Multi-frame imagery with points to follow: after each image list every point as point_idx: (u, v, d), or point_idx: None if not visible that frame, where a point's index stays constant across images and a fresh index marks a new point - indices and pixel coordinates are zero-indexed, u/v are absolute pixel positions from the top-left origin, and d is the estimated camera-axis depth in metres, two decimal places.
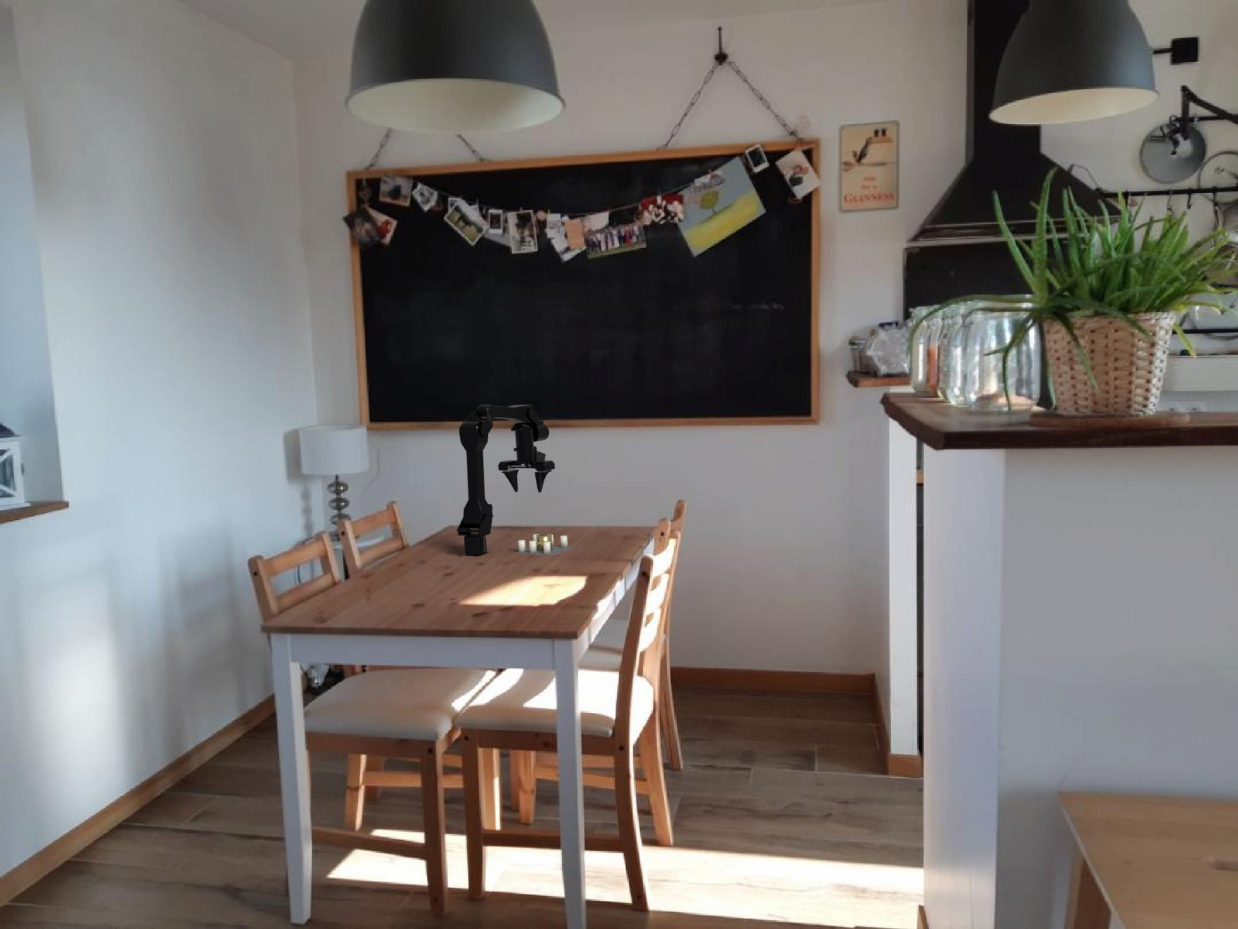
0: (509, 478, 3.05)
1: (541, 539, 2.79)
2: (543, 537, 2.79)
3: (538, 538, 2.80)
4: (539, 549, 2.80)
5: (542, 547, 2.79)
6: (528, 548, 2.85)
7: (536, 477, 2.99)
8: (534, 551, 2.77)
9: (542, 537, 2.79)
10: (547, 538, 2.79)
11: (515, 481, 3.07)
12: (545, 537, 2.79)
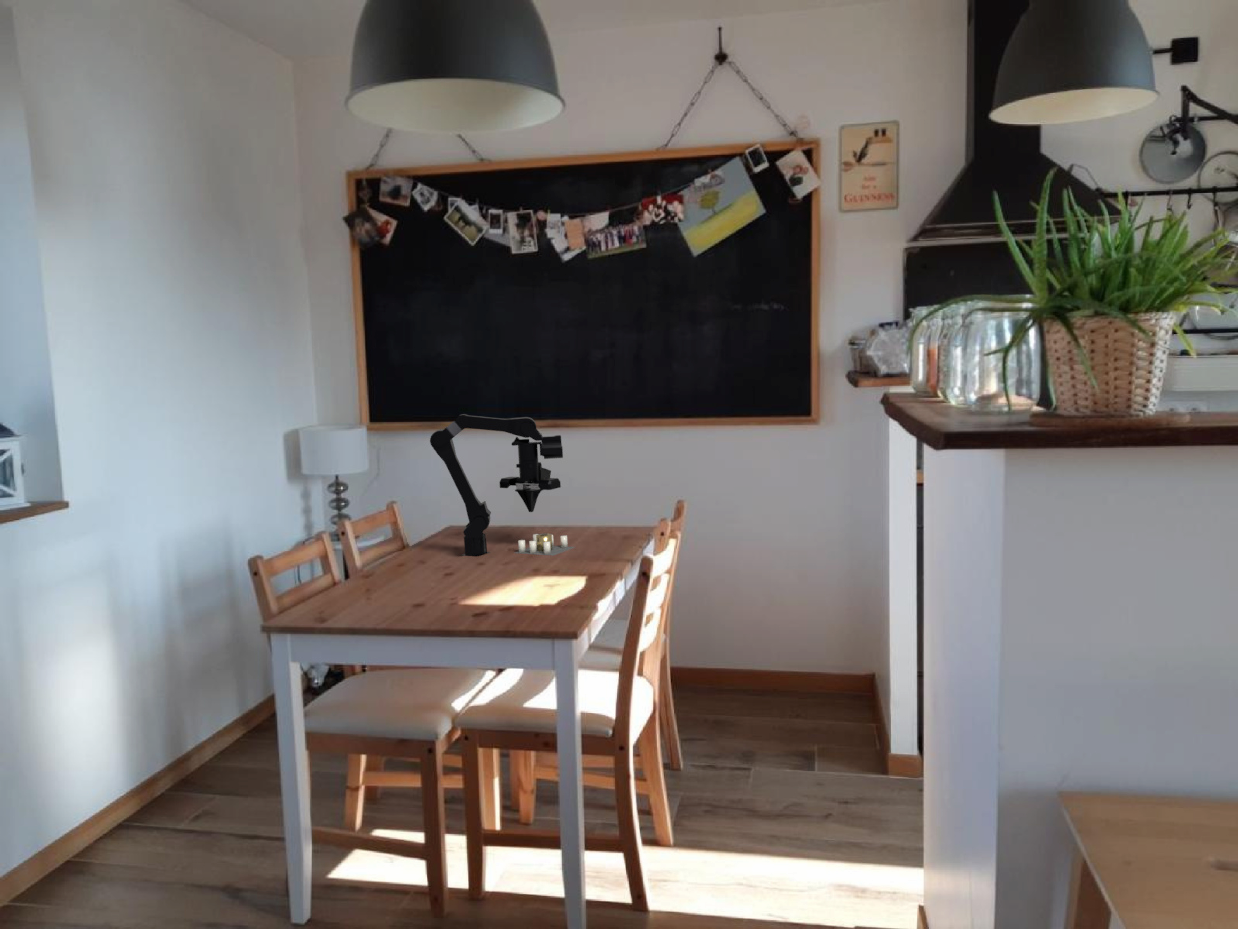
0: (523, 497, 2.80)
1: (541, 539, 2.79)
2: (543, 537, 2.79)
3: (538, 538, 2.80)
4: (539, 549, 2.80)
5: (542, 547, 2.79)
6: (528, 548, 2.85)
7: (528, 495, 2.79)
8: (534, 551, 2.77)
9: (542, 537, 2.79)
10: (547, 538, 2.79)
11: None
12: (545, 537, 2.79)
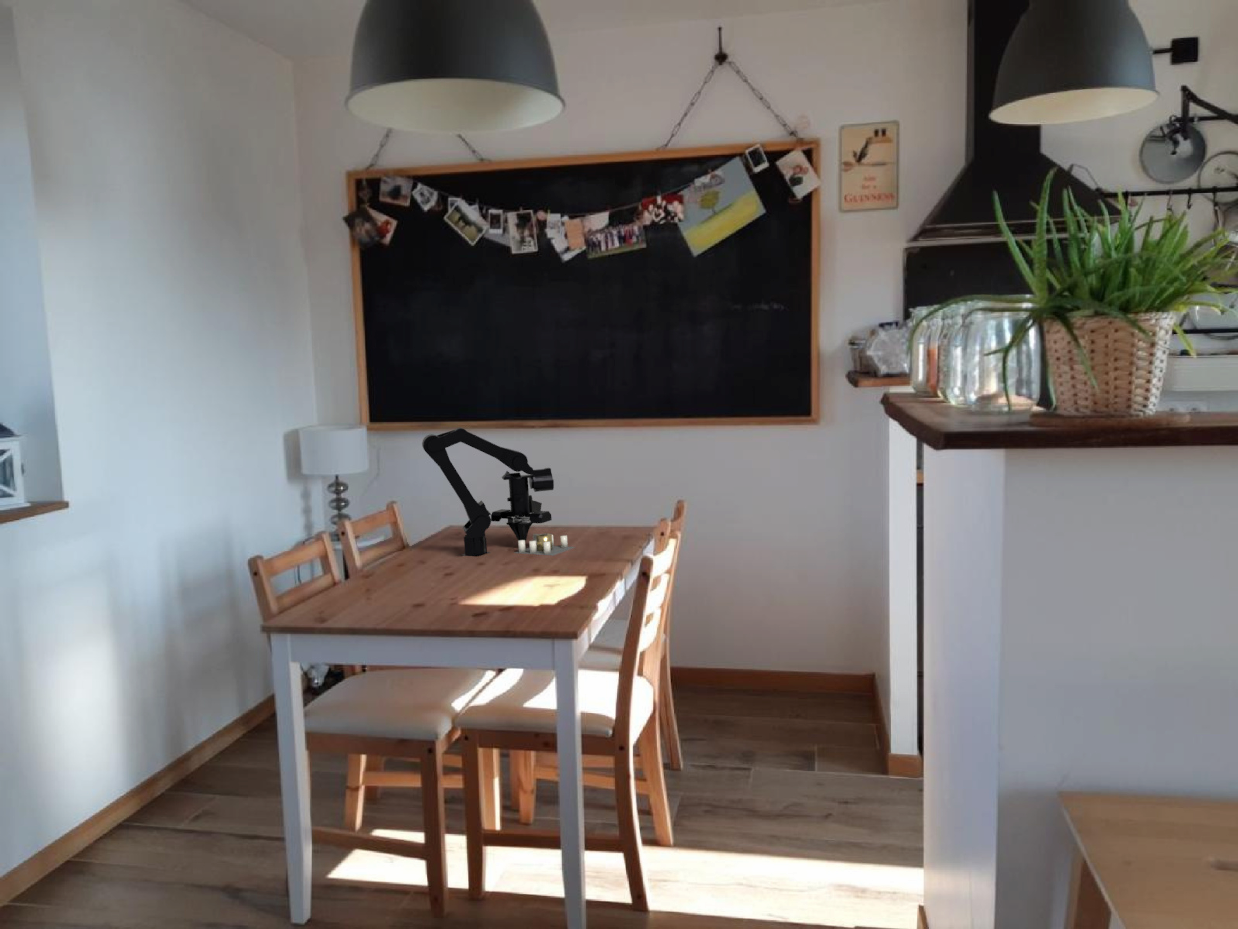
0: (515, 530, 2.83)
1: (541, 539, 2.79)
2: (543, 537, 2.79)
3: (538, 538, 2.80)
4: (539, 549, 2.80)
5: (542, 547, 2.79)
6: (528, 548, 2.85)
7: (519, 529, 2.82)
8: (534, 551, 2.77)
9: (542, 537, 2.79)
10: (547, 538, 2.79)
11: None
12: (545, 537, 2.79)
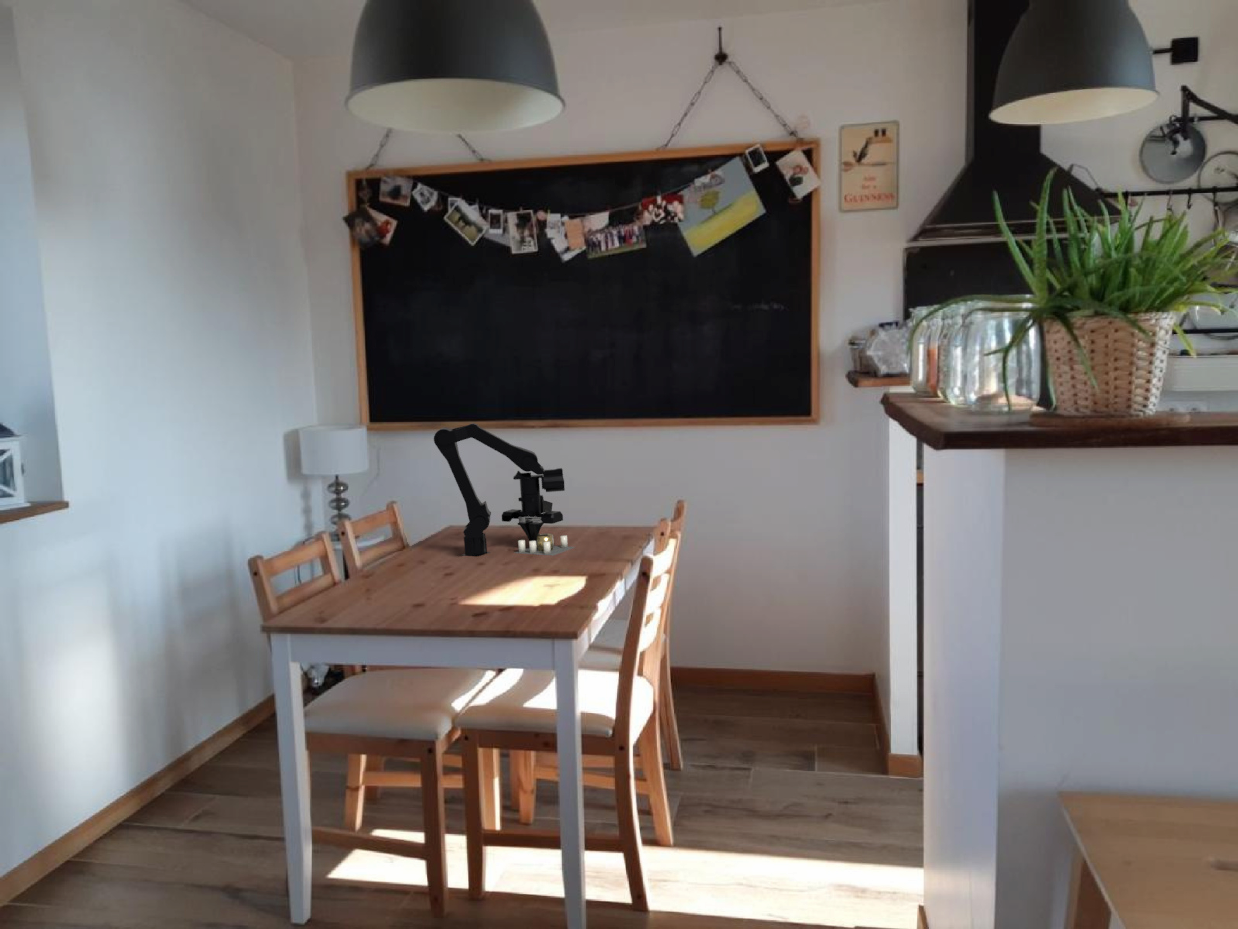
0: (526, 530, 2.81)
1: (542, 539, 2.79)
2: (544, 537, 2.79)
3: (539, 538, 2.79)
4: (540, 549, 2.80)
5: (543, 547, 2.79)
6: (528, 548, 2.85)
7: (530, 529, 2.80)
8: (534, 551, 2.77)
9: (543, 537, 2.79)
10: (548, 538, 2.79)
11: None
12: (546, 537, 2.79)
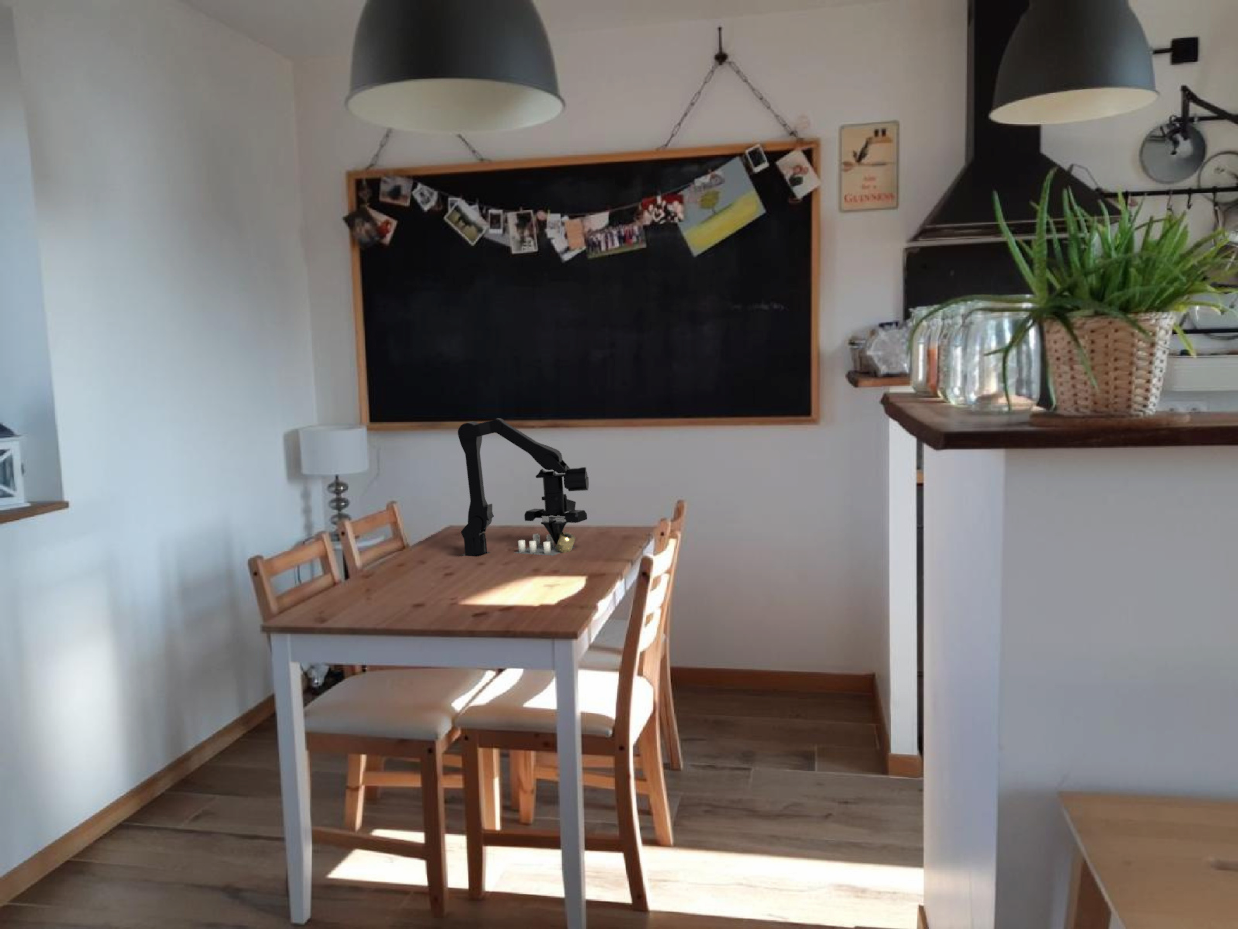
0: (550, 530, 2.77)
1: (564, 541, 2.75)
2: (567, 540, 2.75)
3: (562, 538, 2.75)
4: (558, 548, 2.76)
5: (562, 548, 2.76)
6: (528, 548, 2.85)
7: (554, 528, 2.76)
8: (534, 551, 2.77)
9: (566, 539, 2.75)
10: (570, 542, 2.75)
11: None
12: (569, 540, 2.75)
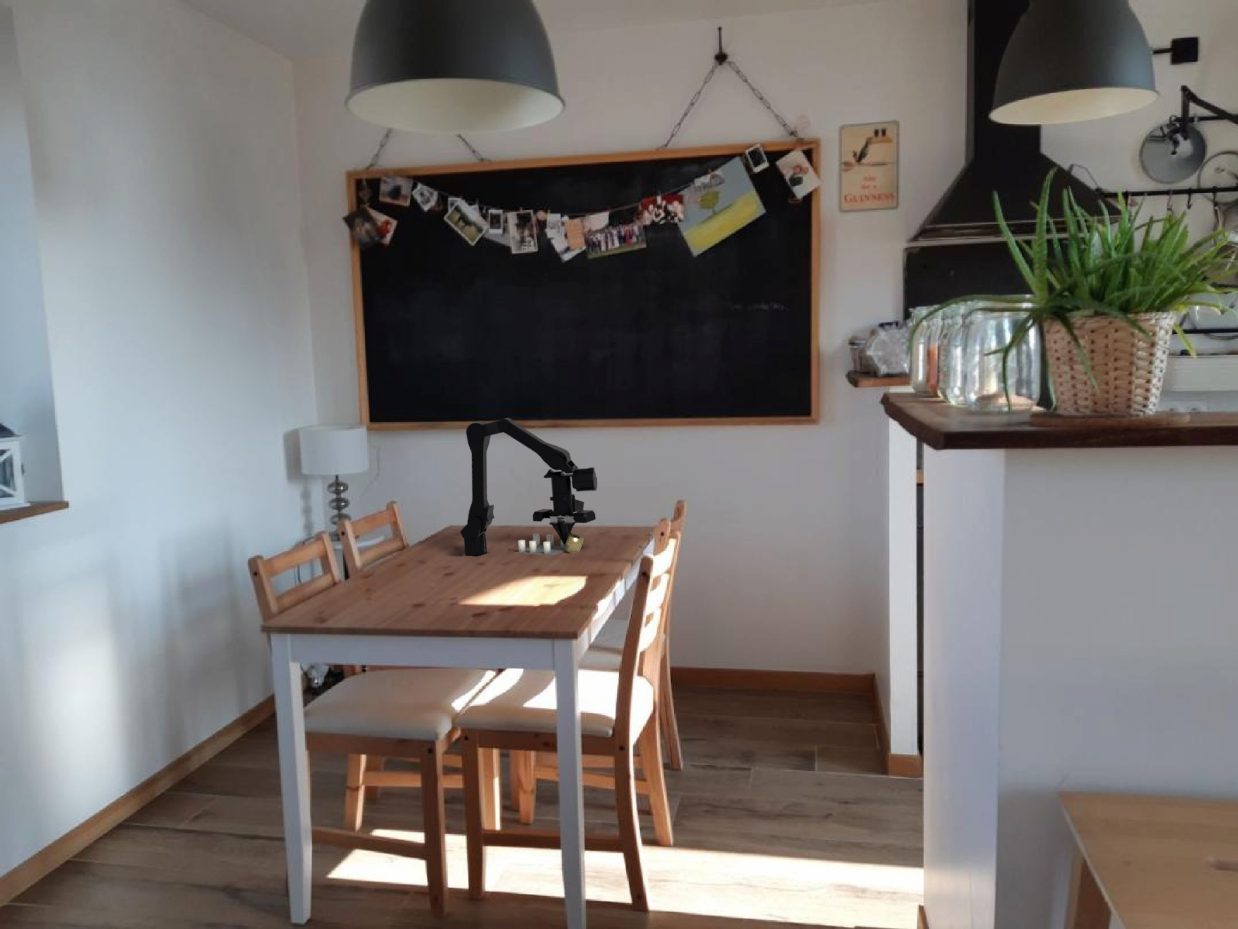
0: (558, 530, 2.76)
1: (573, 541, 2.74)
2: (576, 540, 2.73)
3: (570, 539, 2.74)
4: (567, 549, 2.75)
5: (571, 549, 2.74)
6: (528, 548, 2.85)
7: (562, 529, 2.75)
8: (534, 551, 2.77)
9: (575, 540, 2.73)
10: (579, 543, 2.74)
11: None
12: (577, 541, 2.73)
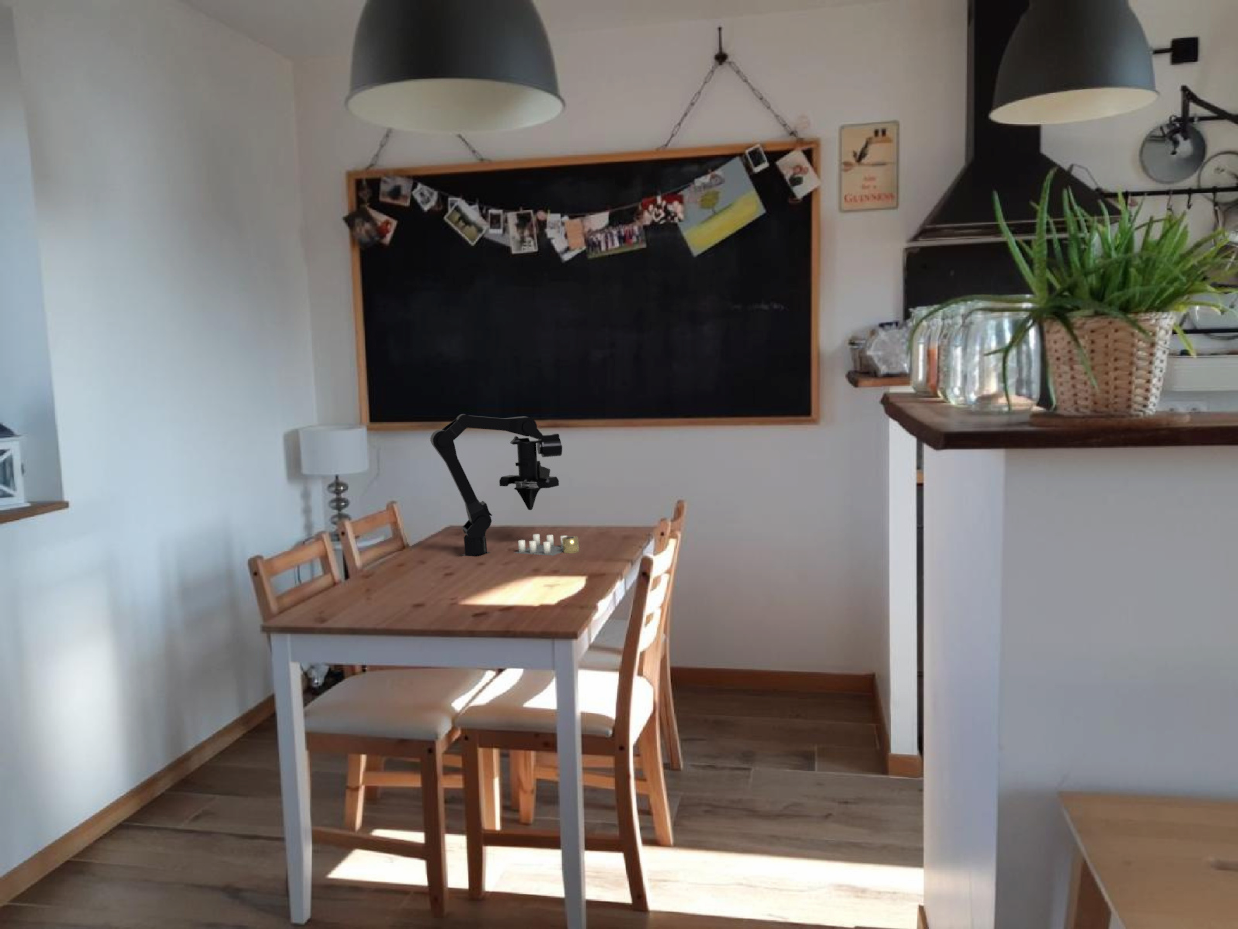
0: (522, 495, 2.84)
1: (568, 542, 2.74)
2: (570, 540, 2.74)
3: (565, 541, 2.75)
4: (566, 552, 2.75)
5: (569, 550, 2.75)
6: (528, 548, 2.85)
7: (527, 494, 2.83)
8: (534, 551, 2.77)
9: (569, 540, 2.74)
10: (574, 541, 2.75)
11: None
12: (572, 540, 2.74)
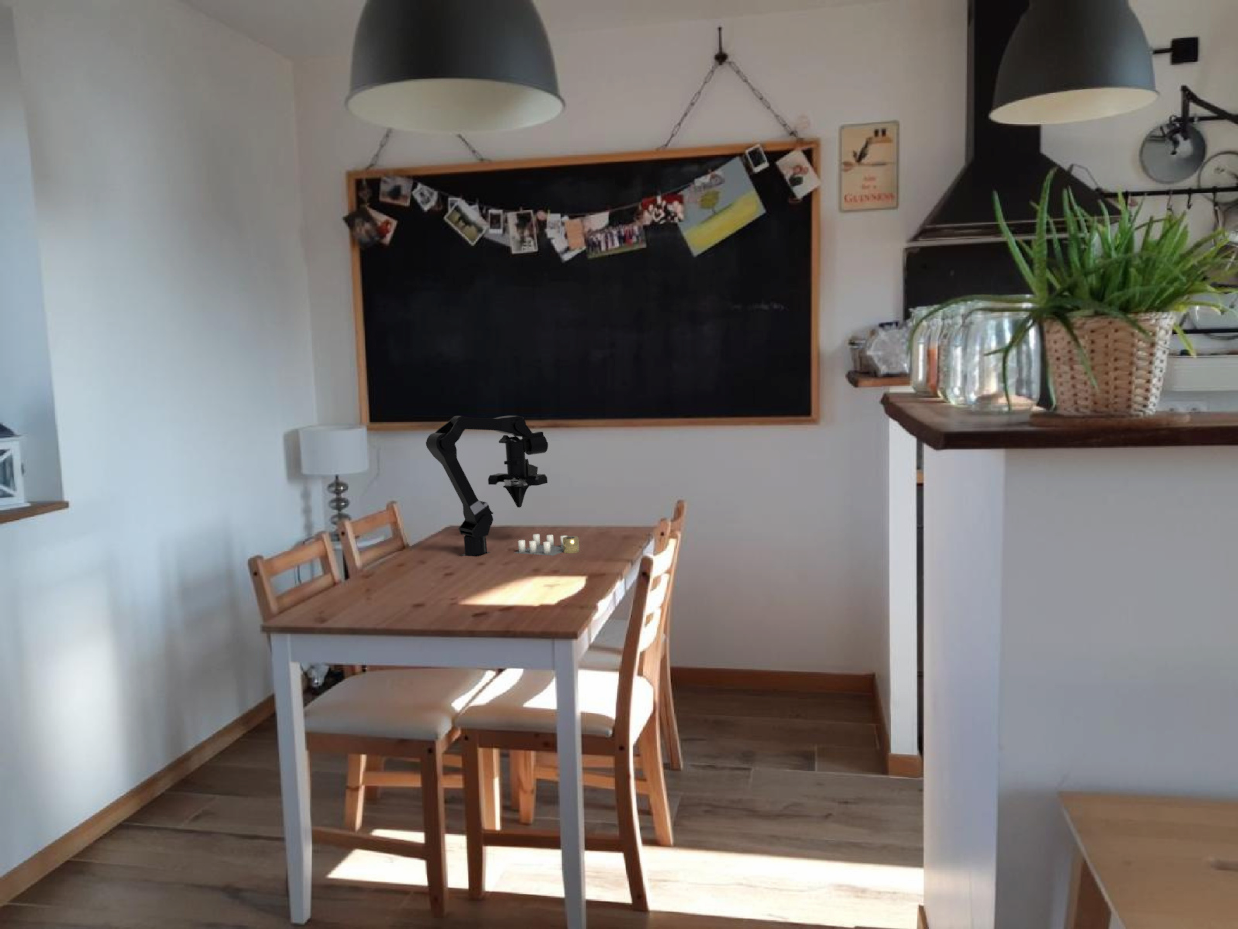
0: (511, 493, 2.89)
1: (569, 542, 2.74)
2: (571, 540, 2.74)
3: (566, 541, 2.75)
4: (567, 552, 2.75)
5: (570, 550, 2.75)
6: (528, 548, 2.85)
7: (516, 491, 2.87)
8: (534, 551, 2.77)
9: (570, 540, 2.74)
10: (575, 541, 2.75)
11: None
12: (573, 540, 2.74)
